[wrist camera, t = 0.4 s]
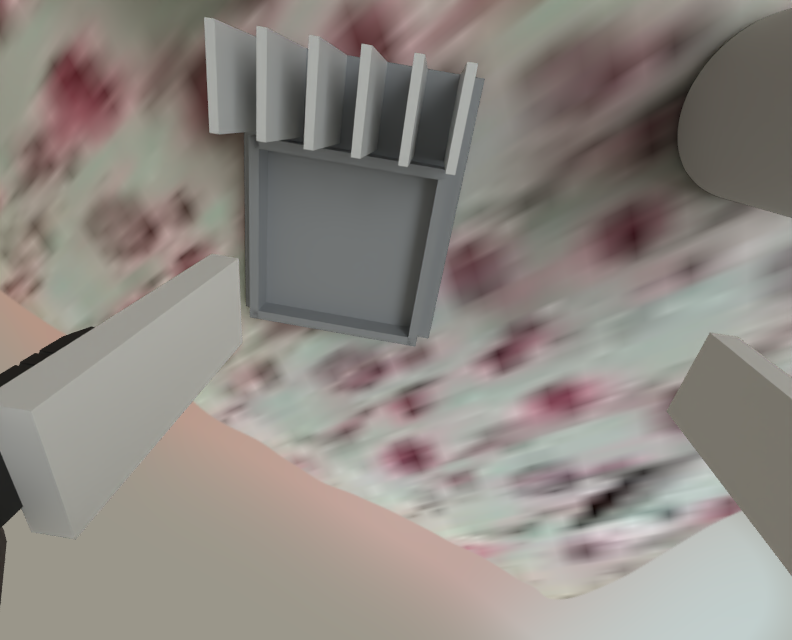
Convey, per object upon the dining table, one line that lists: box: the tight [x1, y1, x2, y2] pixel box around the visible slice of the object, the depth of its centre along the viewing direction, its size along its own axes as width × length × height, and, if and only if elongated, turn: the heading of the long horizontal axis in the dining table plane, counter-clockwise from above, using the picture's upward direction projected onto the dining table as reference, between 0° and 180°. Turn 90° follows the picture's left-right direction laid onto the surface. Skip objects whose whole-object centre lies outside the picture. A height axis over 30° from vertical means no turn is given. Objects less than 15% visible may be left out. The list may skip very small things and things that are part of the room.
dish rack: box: [204, 17, 484, 346], centre depth 32 cm, size 22×18×10 cm
